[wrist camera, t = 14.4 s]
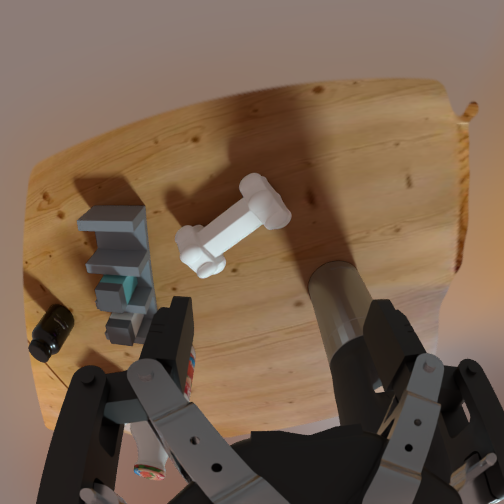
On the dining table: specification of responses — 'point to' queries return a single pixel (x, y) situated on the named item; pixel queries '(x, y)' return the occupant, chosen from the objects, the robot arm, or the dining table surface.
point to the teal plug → (115, 292)
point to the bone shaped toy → (232, 226)
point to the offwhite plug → (123, 327)
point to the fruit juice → (155, 439)
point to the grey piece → (123, 255)
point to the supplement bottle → (51, 333)
